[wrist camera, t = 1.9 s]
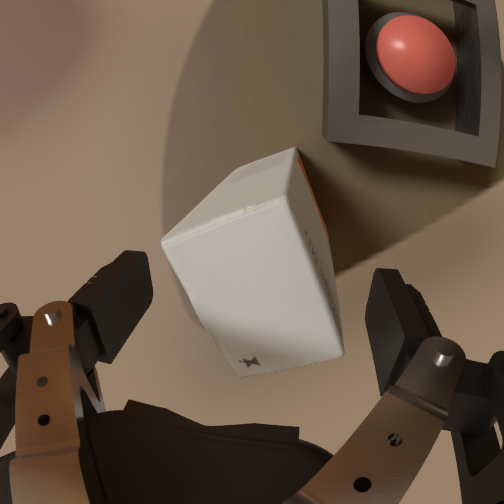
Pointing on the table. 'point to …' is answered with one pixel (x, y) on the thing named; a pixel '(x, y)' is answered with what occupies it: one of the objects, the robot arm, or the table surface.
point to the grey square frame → (409, 133)
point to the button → (410, 57)
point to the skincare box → (261, 268)
